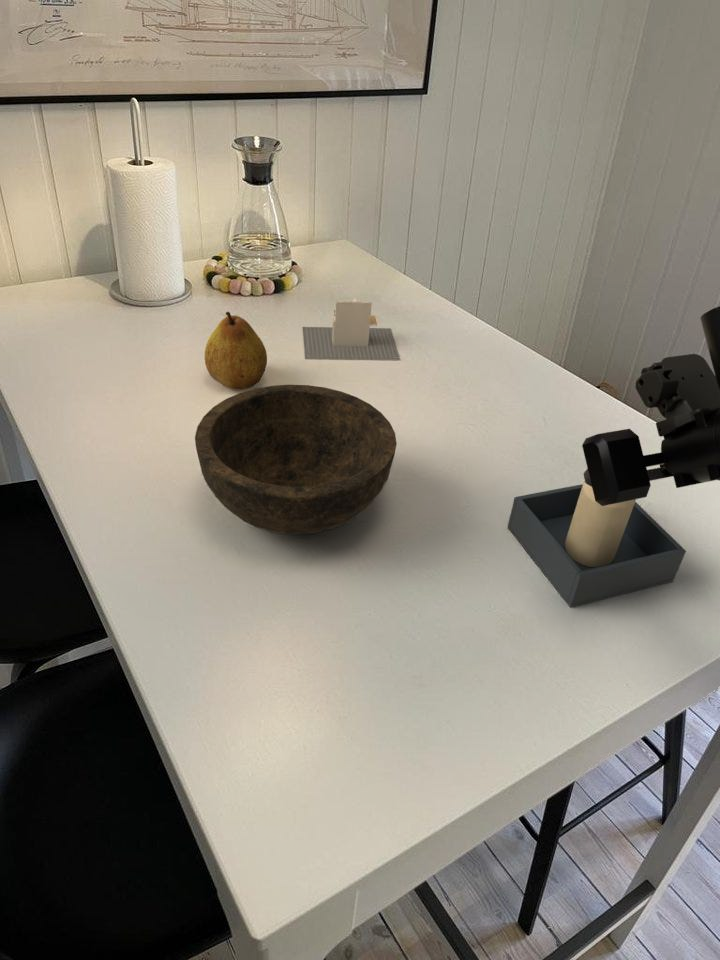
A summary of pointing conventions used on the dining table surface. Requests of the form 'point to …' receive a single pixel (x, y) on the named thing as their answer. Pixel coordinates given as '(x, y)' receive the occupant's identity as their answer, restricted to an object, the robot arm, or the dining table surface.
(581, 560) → the candle
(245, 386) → the fruit
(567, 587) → the dark gray square tray
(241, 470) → the bowl
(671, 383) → the robot arm
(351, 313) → the architectural model
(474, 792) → the dining table surface
